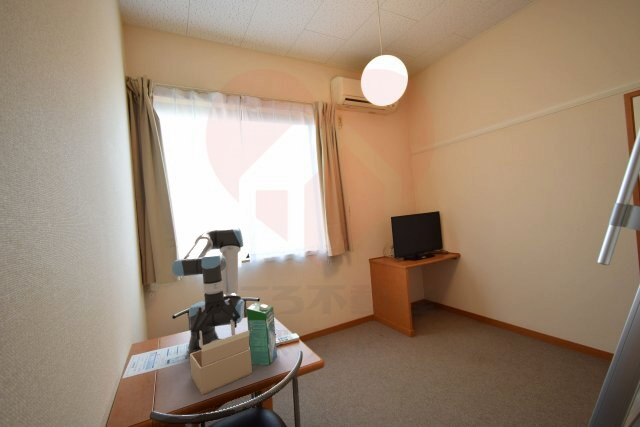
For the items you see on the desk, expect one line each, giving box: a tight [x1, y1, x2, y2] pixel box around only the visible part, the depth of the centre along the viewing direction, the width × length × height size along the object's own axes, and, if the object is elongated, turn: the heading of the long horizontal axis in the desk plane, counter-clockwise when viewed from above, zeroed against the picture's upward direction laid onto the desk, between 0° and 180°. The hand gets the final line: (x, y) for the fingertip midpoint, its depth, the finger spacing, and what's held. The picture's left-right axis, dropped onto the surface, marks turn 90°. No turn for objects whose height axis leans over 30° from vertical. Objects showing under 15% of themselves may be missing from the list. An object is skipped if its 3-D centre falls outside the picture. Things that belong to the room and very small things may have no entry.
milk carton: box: [246, 301, 278, 366], centre depth 129 cm, size 9×9×25 cm
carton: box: [189, 348, 253, 396], centre depth 118 cm, size 16×20×10 cm
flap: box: [202, 329, 250, 366], centre depth 111 cm, size 9×19×1 cm
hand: (217, 341), depth 120 cm, fingers open, 13 cm apart
